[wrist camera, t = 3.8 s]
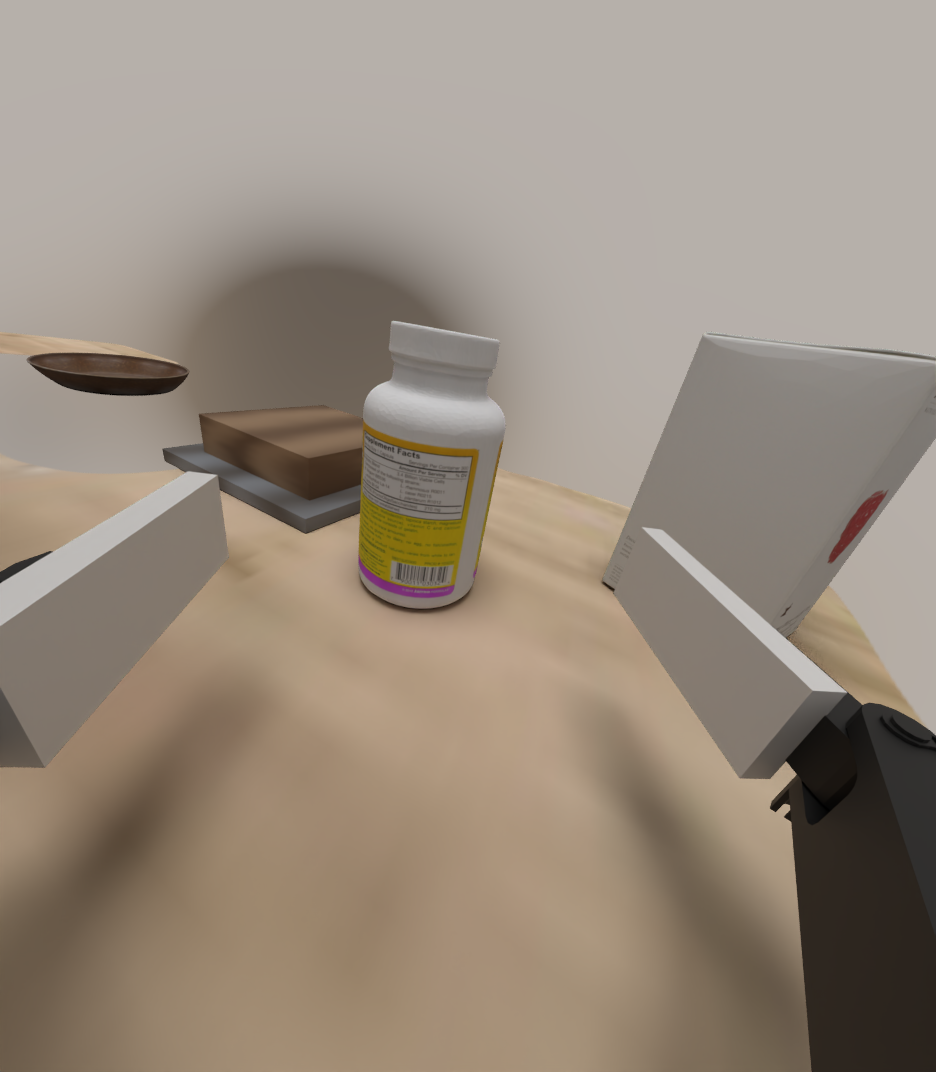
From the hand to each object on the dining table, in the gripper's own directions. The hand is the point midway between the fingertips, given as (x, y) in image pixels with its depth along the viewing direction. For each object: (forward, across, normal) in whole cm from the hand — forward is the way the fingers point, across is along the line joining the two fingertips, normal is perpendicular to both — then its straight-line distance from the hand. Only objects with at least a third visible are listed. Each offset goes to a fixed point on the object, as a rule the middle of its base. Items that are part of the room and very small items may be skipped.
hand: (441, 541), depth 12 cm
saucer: (+44, -38, -7) cm, 59 cm away
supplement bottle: (+8, 0, -7) cm, 11 cm away
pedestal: (+23, -10, -7) cm, 26 cm away
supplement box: (+8, +18, -7) cm, 21 cm away
